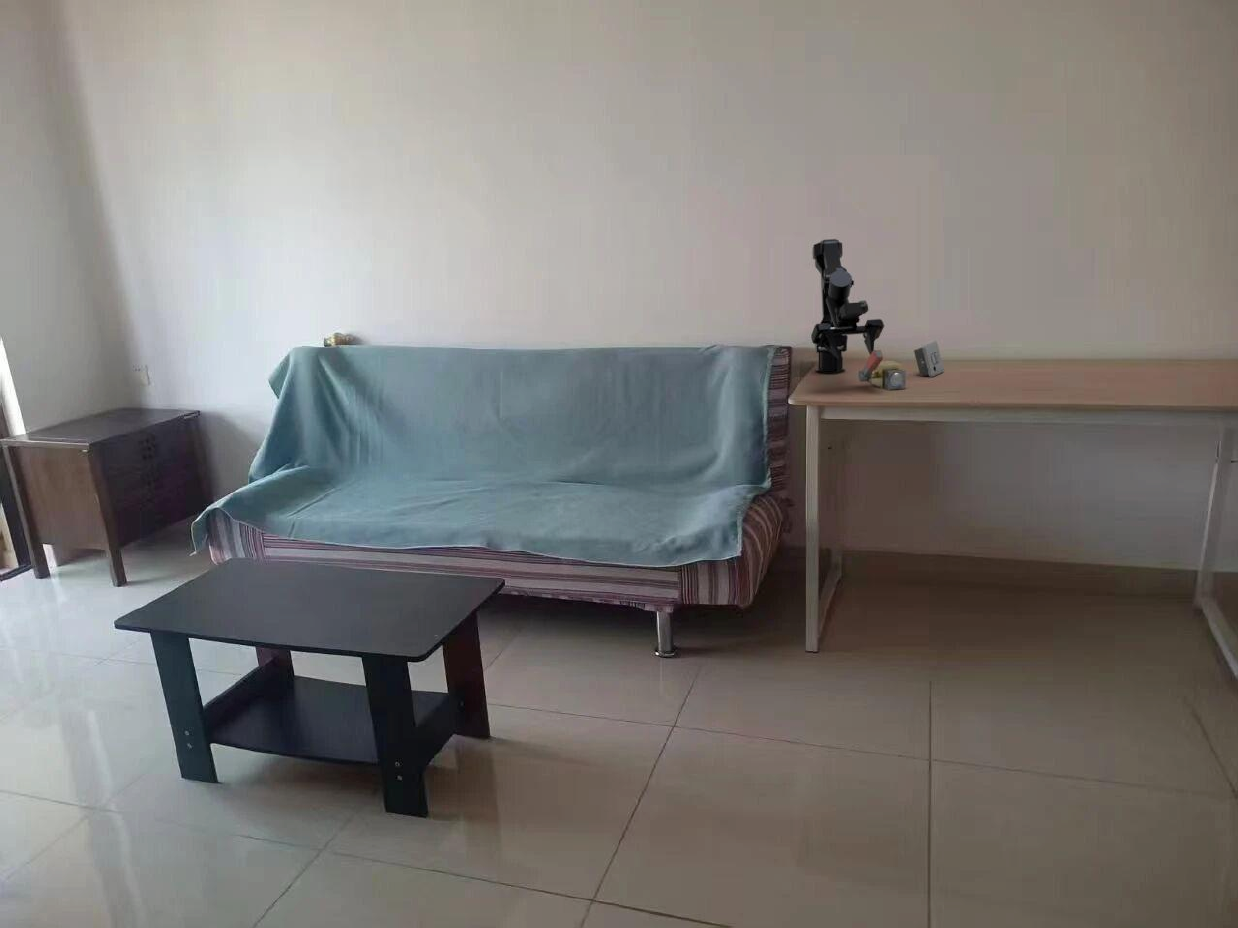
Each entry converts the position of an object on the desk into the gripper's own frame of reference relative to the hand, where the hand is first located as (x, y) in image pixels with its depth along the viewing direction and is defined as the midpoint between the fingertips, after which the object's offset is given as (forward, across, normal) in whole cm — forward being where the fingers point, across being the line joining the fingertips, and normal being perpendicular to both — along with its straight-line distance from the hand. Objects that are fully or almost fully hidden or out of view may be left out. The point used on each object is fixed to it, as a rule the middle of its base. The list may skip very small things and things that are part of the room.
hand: (855, 356), depth 253 cm
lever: (0, +5, +11) cm, 12 cm away
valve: (+2, +10, +11) cm, 16 cm away
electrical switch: (-4, +28, +18) cm, 34 cm away
